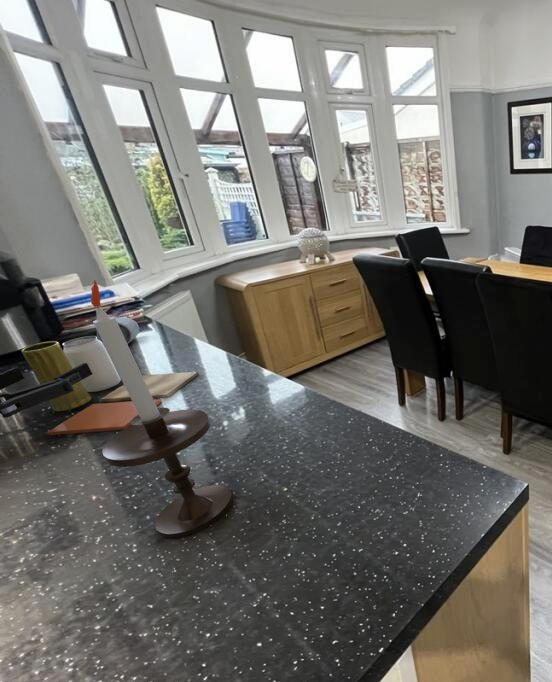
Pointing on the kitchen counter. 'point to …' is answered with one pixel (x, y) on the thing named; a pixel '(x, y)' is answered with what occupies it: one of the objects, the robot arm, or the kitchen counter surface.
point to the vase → (55, 373)
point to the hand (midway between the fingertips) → (54, 370)
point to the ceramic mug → (126, 329)
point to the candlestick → (159, 440)
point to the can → (92, 362)
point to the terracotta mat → (99, 418)
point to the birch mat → (155, 386)
